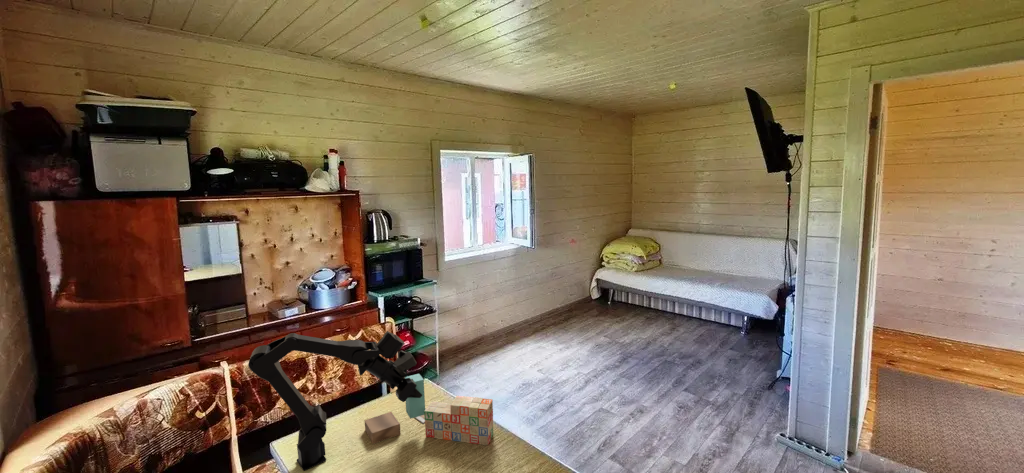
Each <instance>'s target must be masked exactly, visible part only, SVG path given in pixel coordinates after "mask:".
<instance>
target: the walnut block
mask: <svg viewBox="0 0 1024 473" xmlns="http://www.w3.org/2000/svg"><path fill="white" fill-rule="evenodd" d="M364 431H365V433H366V434H367V436H368V439H369V440H370V441H371V443H372V445H374V444H377V443H379V442H383V441H385V440H388V439H391V438H394V437H397V436H400V435H401V423H400V421H398V419H397V418H396V416H395V414H393V412H392V411H389V412H385V413H383V414H379V415H377V416H374V417H373V416H372V417H370V418H367V419H365V420H364Z"/></svg>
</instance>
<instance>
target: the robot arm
mask: <svg viewBox="0 0 1024 473" xmlns="http://www.w3.org/2000/svg"><path fill="white" fill-rule="evenodd" d="M404 345H405V341H404V340H403V339H401V338H400V337H399V336H398V335H397V334H394V333H392V332H390V331H389V330H387V331H386V332H385V333H384V334H383V335H382V337H381V339H379V340H378V342H377V341H364V340H362V339H345V340H333V339H332V340H331V339H326V338H321V337H315V336H309V335H304V334H303V335H302V334H297V333H295V332H291V333H288V334H287V335H285V336H283V337H281V338H278V339H276V340H273V341H271V342H270V343H267V344H264V345H263V344H262V345H259V346H257V347H255V348H254V350H253V351H252V352H251V355H250V357H249V360H248V364H247V365H248V368H249V370H250V371H251V372H252V373H254V374H255V376H257V377H258V378H260V379H263V381H264V380H265V381H266V382H267V383H269V385H271V387H272V389H274V390H275V391H276V393H277V394H278V395H279V397H280V398H281V399H282V400H283V402H284V403H285V404H286V406H287V407H288V408H289V409H290V411H291V412H292V413H293V414H294V415H295V417H296V418H297V420H298V423H299V426H300V429H299V430H298V437H297V444H296V447H297V448H296V449H297V459H296V463H297V464H298V466H299V467H300V468H301V469H302V470H303V471H307V470H308V469H311V468H313V467H316V466H317V465H320V464H322V463H324V462H326V461H327V457H326V444H325V442H324V441H323V438H324V437H325V435H326V433H327V412H326V411H324V410H323V409H322V407H321V405H320V404H317V405H316V406H313V405H311V404H310V403H309V402H308V401H307V400H306V399H305V397H304V396H303V394H302V393H301V392H300V390H299V389H298V388H297V387H296V386H295V384H294V382H292V380H291V379H290V377H288V375H287V374H286V373H285V371H284V370H283V368H282V366H281V363H280V361H281V360H282V359H283V358H284V357H286V356H287V355H288V354H290V353H292V352H293V351H295V352H301V353H308V354H316V355H321V356H329V357H334V358H337V359H339V360H341V361H343V362H346V363H348V364H351V365H354V366H357V371H358V373H359V376H363V375H364V374H365V372H368V373H369V374H371V375H373V376H374V377H375V378H377V379H378V380H379V382H380V383H382V384H383V383H385V384H387V385H388V386H389V387H390V389H392V390H394V389H395V388H396V389H395V396H396V397H397V400H399V401H400V402H402V403H406V400H407V398H421V397H422V394H421V393H420V392H419V391H418V390H417V389H416V383H415V382H414V380H413V379H410V378H406V379H405V378H404V377H407V376H408V372H407V371H409V369H411V368H412V367H416V366H417V361H416V359H415V357H414V355H412V353H411V352H410V351H404V350H401V349H402V348H403V347H404ZM396 355H397V358H396V360H394V361H393V360H391V359H393V358H394V357H395V356H396Z"/></svg>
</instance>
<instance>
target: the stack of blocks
mask: <svg viewBox="0 0 1024 473" xmlns="http://www.w3.org/2000/svg"><path fill="white" fill-rule="evenodd" d="M493 401H494V400H493V399H492V398H491V399H490V398H483V397H477V396H476V397H474V396H462V395H456V396H455V398H454V399H453V401H452V402H451V403H449V402H448V403H447V402H439V401H431V402H429V404H428V405H427V407H425V411H424V417H425V423H424V427H425V437H426V438H434V439H439V440H446V441H455V442H462V443H470V444H476V445H483V446H489V444H490V442H491V439H492V437H493V435H494V408H493V406H494V405H493V404H494V402H493Z"/></svg>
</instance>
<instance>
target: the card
mask: <svg viewBox="0 0 1024 473" xmlns="http://www.w3.org/2000/svg"><path fill="white" fill-rule="evenodd" d="M415 420H418V421H419V422H420V423H422V424H425V417H424V415H422V416H418V417H415Z"/></svg>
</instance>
